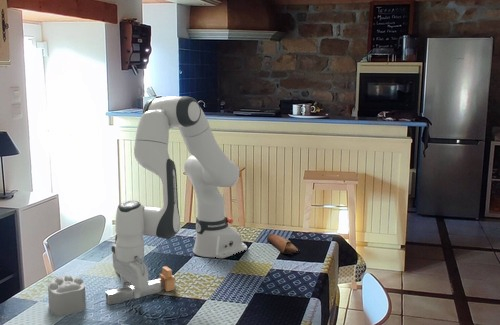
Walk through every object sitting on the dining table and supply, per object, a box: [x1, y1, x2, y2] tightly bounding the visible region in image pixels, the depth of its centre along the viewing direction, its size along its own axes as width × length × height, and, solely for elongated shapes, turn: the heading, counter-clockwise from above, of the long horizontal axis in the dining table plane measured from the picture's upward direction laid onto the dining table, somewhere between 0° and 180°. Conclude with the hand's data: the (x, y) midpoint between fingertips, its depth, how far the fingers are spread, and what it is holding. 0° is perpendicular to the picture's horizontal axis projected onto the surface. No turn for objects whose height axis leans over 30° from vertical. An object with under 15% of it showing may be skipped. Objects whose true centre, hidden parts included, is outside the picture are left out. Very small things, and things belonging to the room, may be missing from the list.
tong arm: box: [107, 281, 162, 306], centre depth 176 cm, size 18×1×4 cm, turn 126°
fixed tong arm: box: [105, 274, 176, 305], centre depth 178 cm, size 24×1×4 cm, turn 126°
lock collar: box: [158, 265, 176, 292], centre depth 183 cm, size 3×5×7 cm, turn 36°
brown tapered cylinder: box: [266, 233, 299, 254], centre depth 226 cm, size 18×7×7 cm
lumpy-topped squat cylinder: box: [47, 274, 87, 317], centre depth 169 cm, size 10×13×9 cm
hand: (131, 292), depth 175 cm, fingers open, 7 cm apart
